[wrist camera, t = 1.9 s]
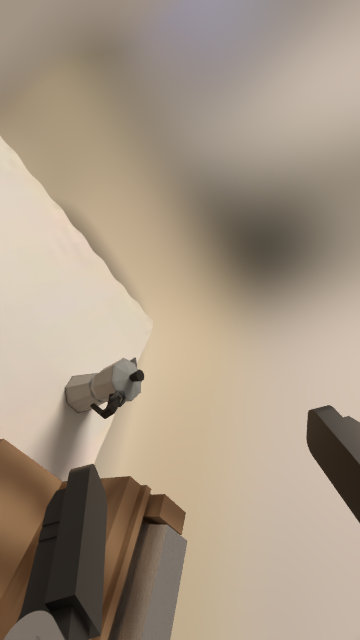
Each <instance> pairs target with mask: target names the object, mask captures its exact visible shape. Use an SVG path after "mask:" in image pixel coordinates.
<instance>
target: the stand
mask: <svg viewBox="0 0 360 640" xmlns="http://www.w3.org/2000/svg"><path fill="white" fill-rule="evenodd" d="M100 480H101V482H102V485H103V487H104V490H105V493H106V498H107V526H106V546H105V566H104V586H103V606H102V626H101V636H98V637H95V638H91V639H89V640H108V637H109V633H110V630H111V626H112V623H113V619H114V616H115V612H116V609H117V605H118V602H119V599H120V595H121V592H122V588H123V585H124V581H125V578H126V574H127V571H128V567H129V564H130V561H131V557H132V554H133V550H134V547H135V543H136V540H137V536H138V533H139V529H140V526H141V524H155V525H168V526H170V527H171V528H172V529H173V530H174V531H176V532H177V533H178V534H179V535H181V534H182V530H183V525H184V520H185V514H186V513H185V512H184V511H183V510H182V509H181V508H180V507H179V506H178V505H176V504H175V503H174V502H173V501H172V500H171V499H169V497H167V496H166V495H165V494H159V495H151V494H150V491H151V488H149V487H148V486H147V485H140V484H139V483H137V482H136V481H135V480H134V479H133V478H132V477H130V476H128V477H115V478H102V479H100ZM66 487H67V481H65V482H62V481H61V480H59V479H58V478H57V477H55V476H54V475H53V474H51V473H50V472H49V471H47V470H46V469H44V468H43V467H42V466H40V465H39V464H38V463H36V462H35V461H34V460H32V459H31V458H29V457H28V456H27V455H25V454H24V453H23V452H21V451H20V450H18V449H17V448H16V447H14V446H13V445H12V444H10V443H9V442H8V441H6V440H5V439H0V640H4V638H5V636H6V635H7V634H8V632H9V631H10V629H11V628H12V627H13V626H14V625H15V624H16V622H17V620H18V618H19V615H20V613H21V609H22V606H23V602H24V598H25V594H26V590H27V585H28V581H29V577H30V573H31V569H32V565H33V561H34V556H35V552H36V548H37V545H38V543H39V542H38V540H39V536H40V531H41V529H42V523H43V519H44V515H45V511H46V507H47V505H48V504H49V502H50V500H51V499H52V497H53V495H54V494H55V492H56V491H57V490H61V489H65V488H66Z"/></svg>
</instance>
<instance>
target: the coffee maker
mask: <svg viewBox="0 0 360 640" xmlns="http://www.w3.org/2000/svg"><path fill="white" fill-rule="evenodd" d="M142 380H144V374H143V372H142V371H141V370H138V369H137V363H136V358H133V359H131V360H130V361H129V360H126V359H124V358H123V359H121V360H119V361H117V362H116V363H114V364H112V365H110V366H108V367H106V368H105V369H103V370H102V371H101V372H100V373H94V374H85V375H77V376H72V378H71V379H70V381H69V382H68V384H67V385H66V387H65V392H66V399H67V404H68V405H70V406H71V407H72V408H73V409H74V410H75V411H77V412H78V413H79V412H83V411H87V410H91V409H93V410H95V411H96V412H97V413H98V414H99V415H100V416H102V417H103V418H104V419H106V418H108V417H109V416H111V415H113V414H114V413H115V412H116V410H117V408H118V407H121V406H122V405H123V404H124V403H125V402H126V401H132V400H133V399H134V398H135V397H136V396H137V395H138V394H139V393H140V392H141V381H142ZM105 402H108V405H107V407H106V409H104V410H102V409H101V408H100V407H98V406H99V405H101V404H103V403H105Z"/></svg>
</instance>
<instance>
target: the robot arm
mask: <svg viewBox="0 0 360 640" xmlns="http://www.w3.org/2000/svg"><path fill="white" fill-rule="evenodd" d="M307 444H308V447H309V450H310V452H311V454H312V456H313V457H314V459H315V460H316V461H317V463H318V464H319V466H320V467H321V468H322V470H323V471H324V473H325V474H326V476H327V477H328V478H329V480H330V481H331V483H332V484H333V486H334V487H335V488H336V490H337V491H338V493H339V494H340V496H341V497H342V498H343V500H344V501H345V503H346V504H347V506H348V507H349V508H350V510H351V511H352V513H353V514H354V515H355V517H356V518H357V520H358V521H359V522H360V422H358V421H356V420H355V419H353V418H351V417H349V416H347V417H344V418H343V417H342V416H341V415H340V414H339V413H338V412H337V411H336V410H335V409H334V408H333V407H332V406H330V405H327V406H324V407H320V408H316V409H312V410H309V412H308V422H307ZM106 526H107V498H106V493H105V490H104V487H103V485H102V482H101V480H100V477H99V475H98V472H97V470H96V468H95V466H94V464H90V465H86V466H82V467H79V468H75V469H71V470H70V472H69V476H68V481H67V487H66V488H65V489H61V490H57V491H56V492H55V494H54V495H53V497H52V499H51V500H50V502H49V504H48V505H47V507H46V511H45V515H44V519H43V523H42V529H41V531H40V536H39V540H38V542H39V543H38V545H37V548H36V552H35V556H34V561H33V565H32V569H31V573H30V577H29V581H28V585H27V590H26V594H25V598H24V602H23V606H22V609H21V613H20V615H19V618H18V620H17V622H16V624H15V625H14V626H13V627H12V628H11V629H10V631H9V632H8V634H7V635H6V636H5V638H4V640H89V639H91V638H95V637H98V636H101V626H102V606H103V586H104V566H105V546H106Z"/></svg>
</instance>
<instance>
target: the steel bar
mask: <svg viewBox="0 0 360 640" xmlns="http://www.w3.org/2000/svg"><path fill="white" fill-rule="evenodd" d="M186 545H187V540H185V539H184V538H183V537H182V536H180V535H179V534H178V533H177V532H176V531H174V530H173V529H172V528H171V527H170V526H168V525H155V524H141V526H140V529H139V533H138V536H137V540H136V543H135V547H134V550H133V554H132V557H131V561H130V564H129V567H128V571H127V574H126V578H125V581H124V585H123V588H122V592H121V595H120V599H119V602H118V605H117V609H116V612H115V616H114V619H113V623H112V626H111V630H110V633H109V637H108V640H170V637H171V631H172V625H173V620H174V613H175V608H176V602H177V597H178V591H179V585H180V580H181V574H182V568H183V562H184V556H185V551H186Z"/></svg>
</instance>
